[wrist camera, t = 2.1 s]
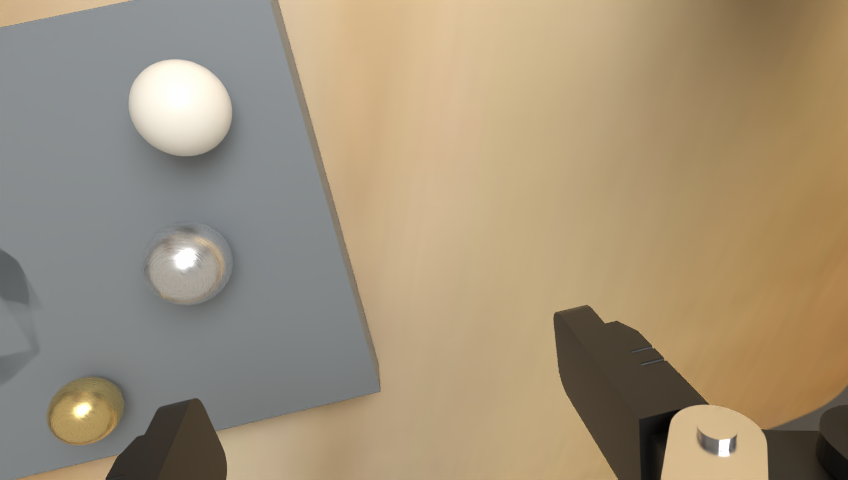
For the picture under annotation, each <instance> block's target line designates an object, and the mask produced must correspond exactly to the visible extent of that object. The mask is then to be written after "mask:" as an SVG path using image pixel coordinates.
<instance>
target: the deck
mask: <svg viewBox="0 0 848 480" xmlns="http://www.w3.org/2000/svg"><path fill="white" fill-rule="evenodd" d="M170 59H180V60H187V61H191V62H194V63H196V64H199V65H201V66H203V67H205V68H206V69H208V70H209V71H211V72H212V73H213V74H214V75H215V76H216V77H217V78H218V79H219V80H220V81H221V82H222V84H223V85H224V87H225V88H226V90H227V92H228V94H229V97H230V100H231V104H232V121H231V125H230V128H229V130H228V133H227V134H226V136H225V137H224V139H223V140H222V141H221V142H220V143H219V144H218V145H217V146H216V147H214V148H213V149H211V150H210V151H207V152H205V153H203V154H199V155H195V156H176V155H172V154H168V153H166V152H163V151H161V150H159V149H157V148H155V147H154V146H152V145H151V144H149V143H148V142H147V141H146V140H145V139H144V138H143V137H142V136H141V135H140V134H139V132H138V131H137V129H136V128H135V126H134V124H133V122H132V119H131V116H130V112H129V104H128V102H129V94H130V90H131V87H132V84H133V83H134V81H135V79H136V78H137V77H138V75H139V74H140V73H141V72H142V71H143V70H144V69H146V68H147V67H149V66H150V65H152V64H155V63H157V62H160V61H163V60H170ZM181 221H194V222H199V223H203V224H206V225H208V226H210V227H212V228H213V229H215V230H216V231H218V232H219V233H220V234H221V235H222V236H223V237H224V238H225V240H226V241H227V243H228V245H229V247H230V249H231V253H232V258H233V267H232V272H231V275H230V278H229V280H228V282H227V284H226V285H225V287H224V288H223V289H222V290H221V291H220V292H219V293H218V294H217V295H216V296H214V297H213V298H211V299H209V300H207V301H205V302H203V303H199V304H195V305H176V304H172V303H169V302H167V301H164V300H162V299H161V298H159V297H158V296H156V295H155V294H154V293H153V292H152V291H151V290H150V289H149V288H148V286H147V285H146V283H145V281H144V279H143V277H142V273H141V267H140V261H141V255H142V251H143V249H144V246H145V245H146V243H147V241H148V240H149V239H150V238H151V236H152V235H153V234H154V233H156V232H157V231H158V230H160V229H161V228H163V227H165V226H167V225H169V224H172V223H175V222H181ZM83 377H100V378H104V379H107V380H109V381H111V382H112V383H114V384H115V385H116V386H117V387H118V388H119V390H120V391H121V393H122V395H123V399H124V411H123V415H122V418H121V420H120V422H119V423H118V425H117V426H116V428H115V429H114V430H113V431H112V432H111V433H110V434H108V435H107V436H106V437H104V438H103V439H101V440H99V441H97V442H94V443H91V444H86V445H71V444H67V443H64V442H62V441H60V440H59V439H57V438H56V437H55V436H54V435H53V434H52V433H51V431H50V430H49V428H48V425H47V420H46V414H47V409H48V405H49V403H50V401H51V399H52V398H53V396H54V395H55V394H56V393H57V391H58V390H59V389H61V388H62V387H63V386H64V385H66V384H67V383H69V382H71V381H73V380H76V379H79V378H83ZM376 392H380V379H379V365H378V360H377V357H376V353H375V350H374V346H373V342H372V339H371V335H370V331H369V328H368V324H367V321H366V317H365V313H364V310H363V306H362V303H361V299H360V295H359V292H358V288H357V285H356V281H355V277H354V274H353V270H352V266H351V263H350V259H349V256H348V252H347V248H346V245H345V241H344V238H343V234H342V230H341V227H340V223H339V220H338V216H337V212H336V209H335V205H334V201H333V198H332V194H331V191H330V187H329V183H328V180H327V176H326V173H325V169H324V165H323V162H322V158H321V155H320V151H319V147H318V144H317V140H316V136H315V133H314V129H313V126H312V122H311V118H310V115H309V111H308V108H307V104H306V100H305V97H304V93H303V90H302V86H301V82H300V79H299V75H298V72H297V68H296V64H295V61H294V57H293V53H292V50H291V46H290V43H289V39H288V35H287V32H286V28H285V25H284V21H283V17H282V14H281V10H280V7H279V3H278V0H132V1H128V2H123V3H118V4H113V5H108V6H103V7H98V8H93V9H88V10H84V11H79V12H74V13H69V14H64V15H59V16H54V17H49V18H44V19H40V20H35V21H30V22H25V23H20V24H15V25H10V26H5V27H0V480H14V479H18V478H22V477H27V476H31V475H35V474H39V473H43V472H47V471H52V470H56V469H60V468H64V467H68V466H72V465H77V464H81V463H85V462H89V461H93V460H97V459H102V458H106V457H110V456H114V455H118V454H121V453H122V452H123V451H124V450H125V449H126V448H127V447H128V445H129V444H130V443H131V442H132V441H133V440H134V439H135V438H136V437H137V436H141V435H144V434H145V432H146V431H147V429H148V427H149V425H150V423H151V421H152V419H153V417H154V415H155V413H156V411H157V409H158V408H159V407H161V406H165V405H169V404H173V403H177V402H181V401H185V400H190V399H194V398H197V399H199V400H200V401H201V402H202V403H203V405H204V407H205V409H206V412H207V414H208V416H209V418H210V421H211V423H212V425H213V427H214V430H215V431H218V430H222V429H227V428H231V427H235V426H239V425H243V424H247V423H252V422H256V421H260V420H264V419H268V418H272V417H276V416H281V415H285V414H289V413H293V412H297V411H301V410H306V409H310V408H314V407H318V406H322V405H326V404H331V403H335V402H339V401H343V400H347V399H351V398H356V397H360V396H364V395H368V394H372V393H376Z"/></svg>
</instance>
